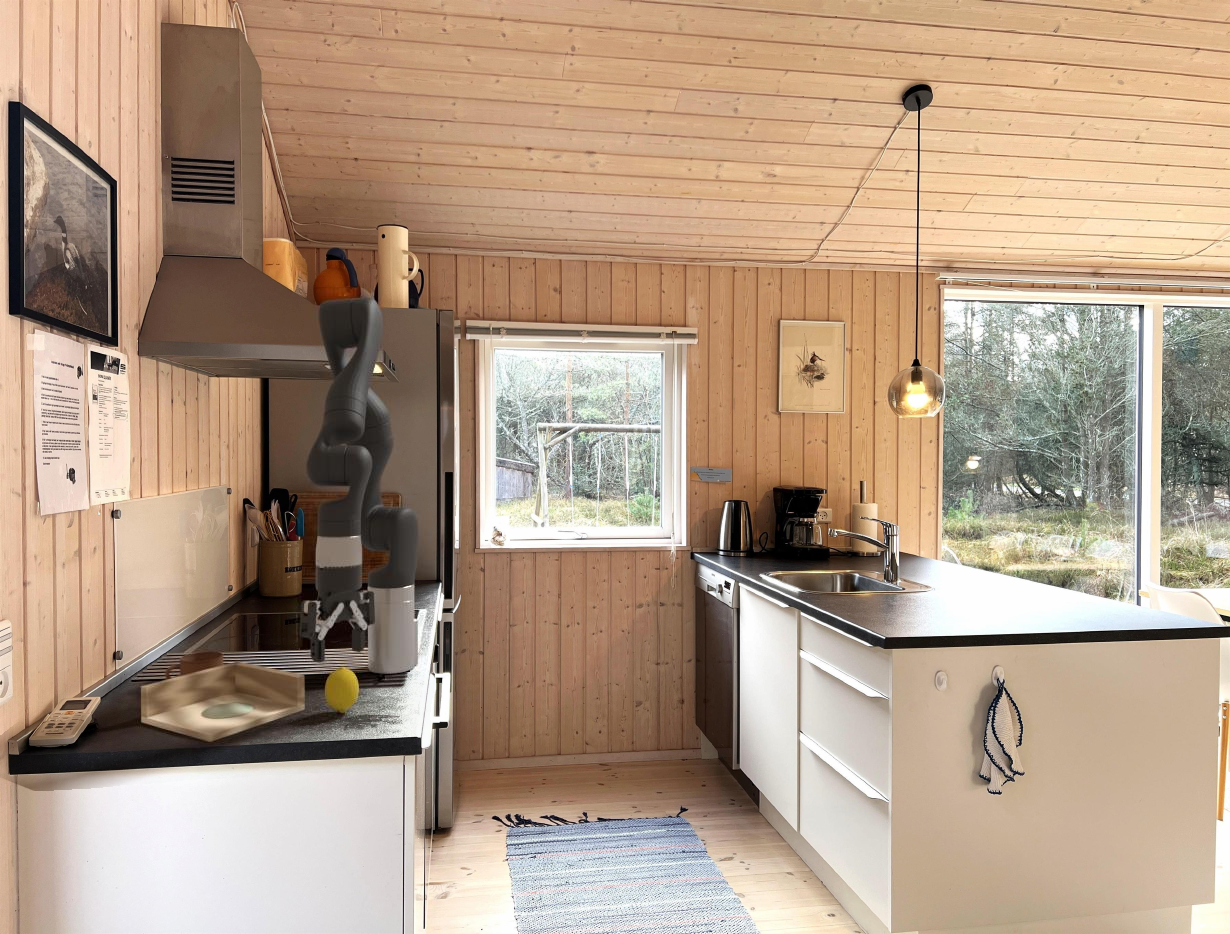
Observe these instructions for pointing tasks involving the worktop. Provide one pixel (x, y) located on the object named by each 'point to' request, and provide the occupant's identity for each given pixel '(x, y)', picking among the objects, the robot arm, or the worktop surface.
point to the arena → (222, 700)
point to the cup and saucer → (196, 663)
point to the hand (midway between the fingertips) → (338, 656)
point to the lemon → (341, 689)
